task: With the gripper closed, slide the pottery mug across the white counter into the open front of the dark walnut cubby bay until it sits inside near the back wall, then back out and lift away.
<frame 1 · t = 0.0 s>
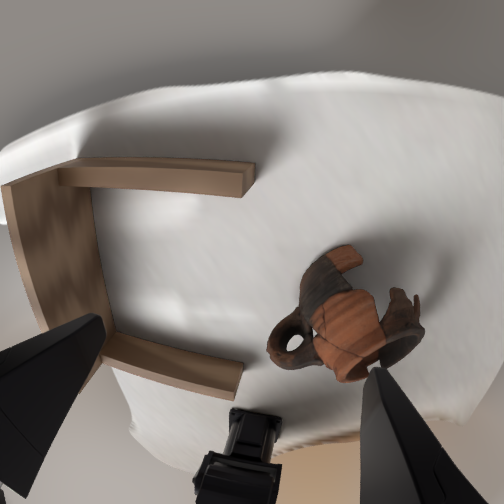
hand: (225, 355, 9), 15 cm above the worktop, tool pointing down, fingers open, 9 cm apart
walnut bay: (165, 275, 26), on the worktop
pottery mug: (342, 300, 24), on the worktop
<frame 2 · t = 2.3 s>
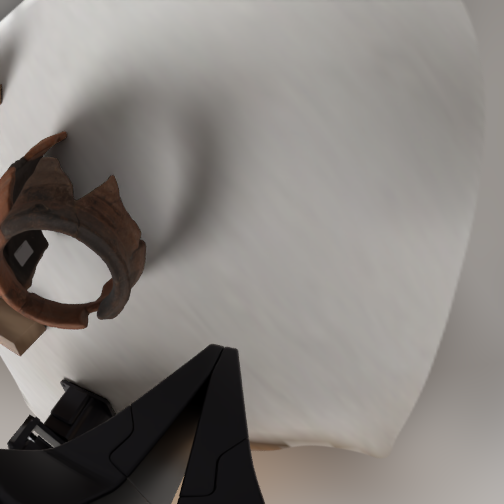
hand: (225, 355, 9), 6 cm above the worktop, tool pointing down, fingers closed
pottery mug: (80, 214, 16), on the worktop
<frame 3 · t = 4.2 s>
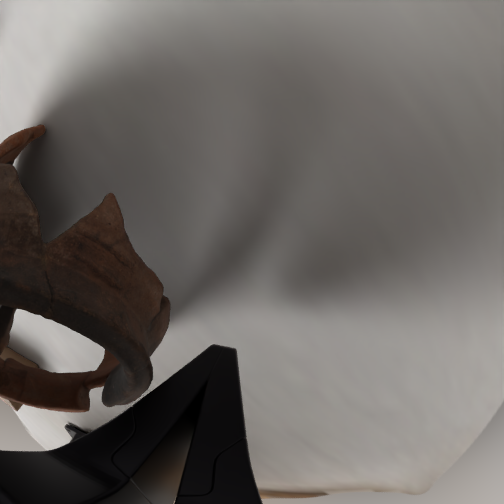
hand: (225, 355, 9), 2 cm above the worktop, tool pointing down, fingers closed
pottery mug: (69, 243, 11), on the worktop, touching gripper
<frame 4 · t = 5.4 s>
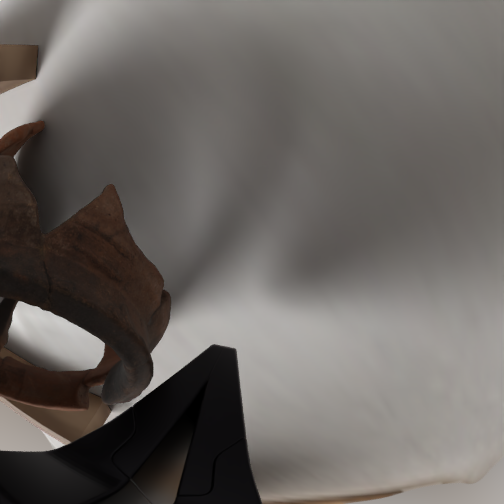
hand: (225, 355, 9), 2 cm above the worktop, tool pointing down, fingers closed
pottery mug: (68, 240, 11), on the worktop, touching gripper
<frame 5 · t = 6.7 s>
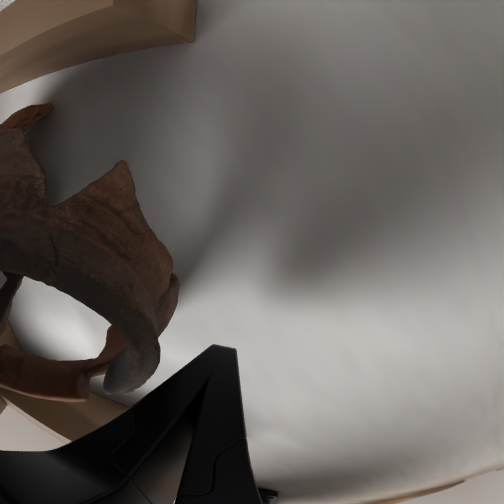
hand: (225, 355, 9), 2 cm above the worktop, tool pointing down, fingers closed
walnut bay: (52, 276, 12), on the worktop
pottery mug: (71, 226, 11), on the worktop, touching gripper
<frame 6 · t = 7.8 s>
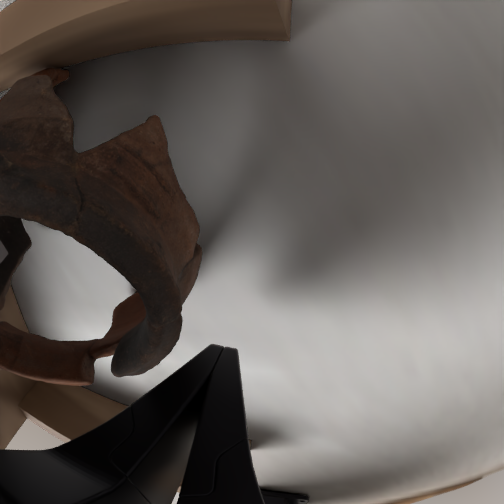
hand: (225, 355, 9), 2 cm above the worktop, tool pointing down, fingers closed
walnut bay: (91, 285, 12), on the worktop
pottery mug: (81, 198, 10), on the worktop
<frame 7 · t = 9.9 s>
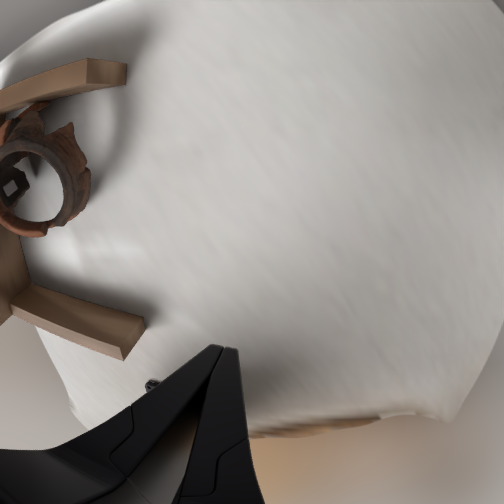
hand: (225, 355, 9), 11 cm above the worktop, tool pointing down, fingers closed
walnut bay: (58, 207, 21), on the worktop
pottery mug: (54, 161, 20), on the worktop
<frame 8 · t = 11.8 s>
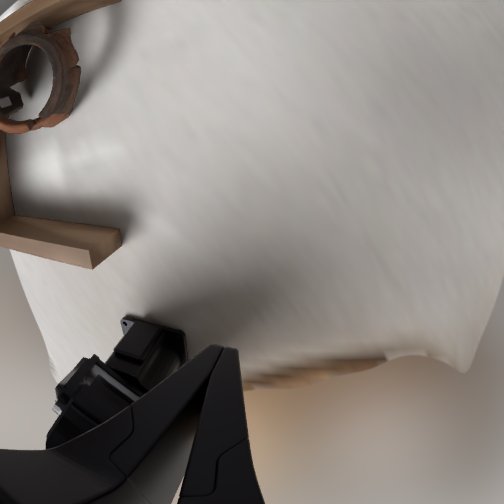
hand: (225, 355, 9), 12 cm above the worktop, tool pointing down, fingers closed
walnut bay: (47, 122, 19), on the worktop
pottery mug: (49, 80, 18), on the worktop
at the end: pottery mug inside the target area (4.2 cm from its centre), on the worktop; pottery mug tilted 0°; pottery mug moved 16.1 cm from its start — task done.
